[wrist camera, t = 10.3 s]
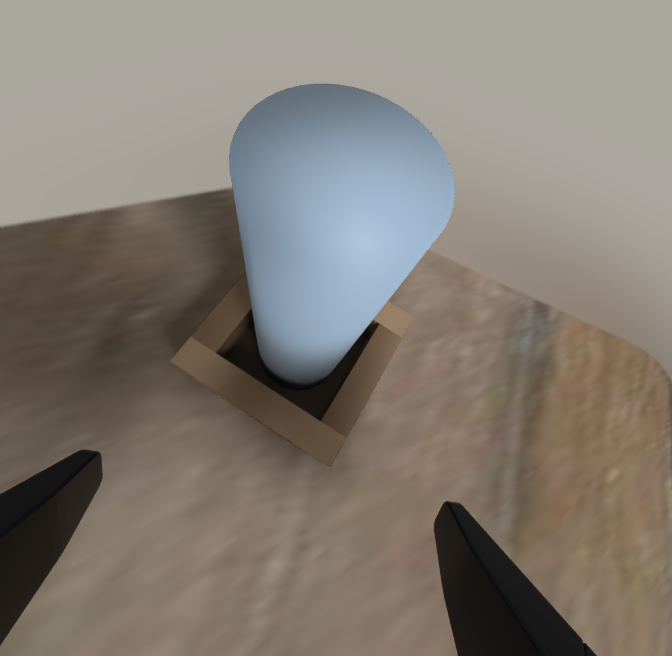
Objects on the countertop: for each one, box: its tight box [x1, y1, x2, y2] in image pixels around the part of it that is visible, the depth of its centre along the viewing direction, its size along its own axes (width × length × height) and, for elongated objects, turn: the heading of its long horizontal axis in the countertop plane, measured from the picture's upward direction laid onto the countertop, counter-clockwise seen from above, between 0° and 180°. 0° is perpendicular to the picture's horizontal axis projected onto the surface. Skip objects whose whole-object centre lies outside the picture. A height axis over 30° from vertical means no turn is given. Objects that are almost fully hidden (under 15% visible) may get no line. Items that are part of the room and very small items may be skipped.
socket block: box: [170, 272, 414, 467], centre depth 17 cm, size 8×8×2 cm
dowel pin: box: [229, 84, 455, 390], centre depth 12 cm, size 4×4×12 cm
